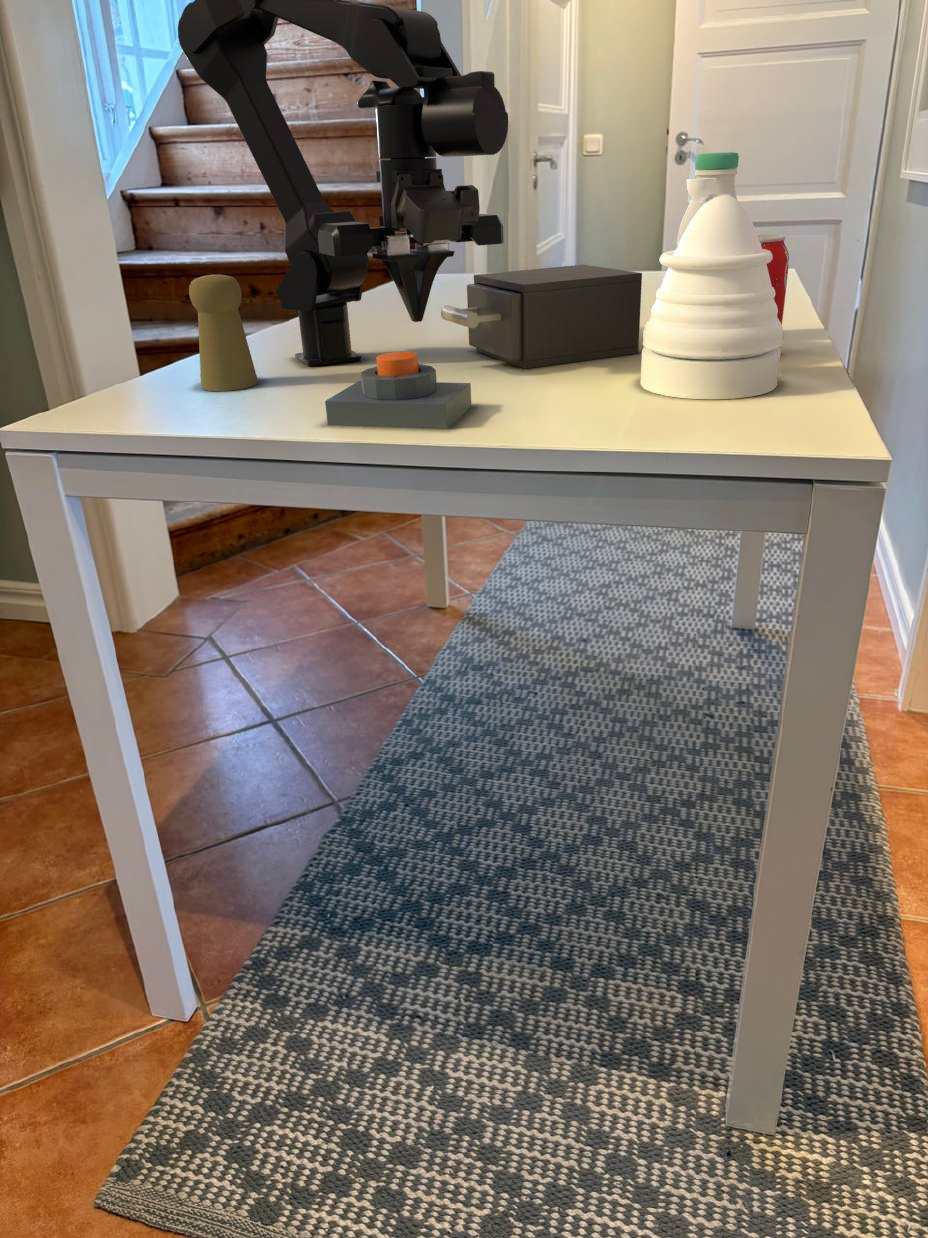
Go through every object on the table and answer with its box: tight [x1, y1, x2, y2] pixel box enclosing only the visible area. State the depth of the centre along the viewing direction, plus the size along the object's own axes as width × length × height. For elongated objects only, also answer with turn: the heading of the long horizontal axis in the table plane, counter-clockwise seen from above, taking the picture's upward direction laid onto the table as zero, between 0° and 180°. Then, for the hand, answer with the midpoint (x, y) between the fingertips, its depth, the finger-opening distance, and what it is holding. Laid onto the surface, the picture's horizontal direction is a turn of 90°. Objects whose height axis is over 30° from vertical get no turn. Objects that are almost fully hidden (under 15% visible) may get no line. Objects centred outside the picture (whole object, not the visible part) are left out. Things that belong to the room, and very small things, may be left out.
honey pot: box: [639, 178, 784, 400], centre depth 83 cm, size 13×13×18 cm
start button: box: [375, 351, 419, 376], centre depth 79 cm, size 4×4×2 cm
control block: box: [324, 363, 472, 430], centre depth 80 cm, size 11×8×4 cm
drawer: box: [440, 283, 522, 361], centre depth 101 cm, size 18×11×7 cm, turn 114°
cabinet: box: [473, 264, 643, 370], centre depth 103 cm, size 15×13×9 cm
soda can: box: [757, 234, 790, 326], centre depth 96 cm, size 7×7×12 cm
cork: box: [188, 274, 259, 392], centre depth 94 cm, size 6×6×11 cm
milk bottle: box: [675, 151, 740, 250], centre depth 103 cm, size 8×8×20 cm
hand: (417, 321), depth 97 cm, fingers closed
